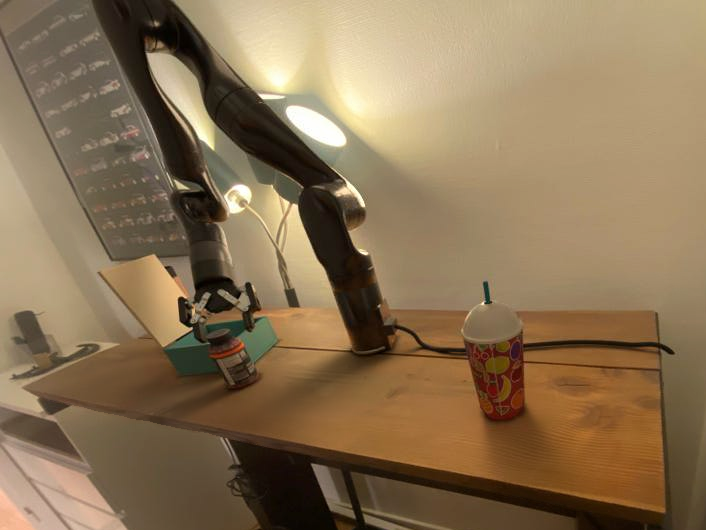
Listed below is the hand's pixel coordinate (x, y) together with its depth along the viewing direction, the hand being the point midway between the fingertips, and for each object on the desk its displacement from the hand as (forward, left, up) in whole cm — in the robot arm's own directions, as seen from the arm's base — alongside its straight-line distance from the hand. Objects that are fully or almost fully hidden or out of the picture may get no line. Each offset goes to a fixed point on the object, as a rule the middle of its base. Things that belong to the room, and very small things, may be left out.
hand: (226, 336), depth 75 cm
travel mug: (+29, -23, -9) cm, 38 cm away
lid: (+19, -10, +7) cm, 23 cm away
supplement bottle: (-1, +3, -9) cm, 10 cm away
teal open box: (+10, -10, -9) cm, 17 cm away
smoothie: (-54, +21, -9) cm, 59 cm away
